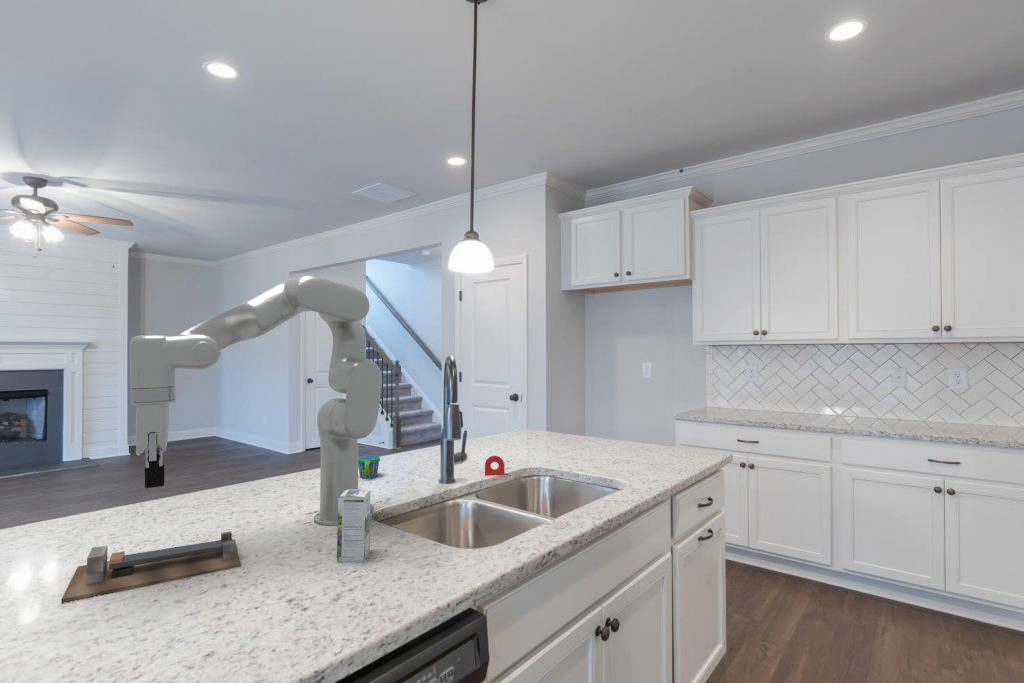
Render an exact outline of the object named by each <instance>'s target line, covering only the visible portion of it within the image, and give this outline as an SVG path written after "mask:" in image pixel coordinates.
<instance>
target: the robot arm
mask: <svg viewBox="0 0 1024 683" xmlns="http://www.w3.org/2000/svg"><path fill="white" fill-rule="evenodd" d="M369 311H370V301H369V299H368V296H367V295H366V294H365V293H364V292H363V291H362V290H360V289H358V288H356V287H353V286H349V285H346V284H343V283H339V282H335V281H333V280H330V279H327V278H322V277H319V276H315V275H301V276H298V277H297V276H296V277H291V278H288V279H285V280H283V281H281V282H279V283H278V284H276V285H274V286H272V287H270V288H268V289H267V290H264V291H263V292H261V293H259V294H257V295H255V296H253V297H251V298H249V299H247V300H245V301H243V302H241V303H239V304H237V305H234V306H233V307H231V308H229V309H227V310H225V311H223V312H222V313H221V312H220V313H219V314H217V315H214V316H213V317H210V318H209V319H206V320H204V321H202V322H200V323H198V324H196V325H193V326H191V327H190V328H189V329H186V330H184V331H182V332H180V333H179V334H177V335H176V336H170V335H167V334H164V335H163V334H162V335H161V334H145V335H144V334H143V335H135V336H133V337H132V338H131V339H130V341H129V386H130V387H129V388H130V391H129V392H130V393H129V394H130V406H136V410H135V411H136V413H135V414H136V415H135V455H137V456H141V454H143V453H145V455H144V456H145V466H144V488H145V489H152V488H153V489H154V488H157V487H158V488H159V487H163V486H165V465H164V453H165V452H166V451H167V446H168V439H169V429H170V428H169V427H170V426H169V425H170V424H169V423H170V420H169V419H170V418H169V415H170V412H169V410H170V409H169V408H170V406H169V405H170V404H173V403H176V399H177V398H176V369H186V370H187V369H188V370H189V369H190V370H204V369H207V368H210V367H212V366H213V365H215V364H216V363H217V362H218V361H219V360H220V358H221V350H223V349H225V348H227V347H229V346H232V345H234V344H237V343H240V342H244V341H248V340H251V339H252V340H253V339H256V338H258V337H260V336H262V335H265V334H268V333H269V332H270V331H273V330H274V329H276V328H277V327H279V326H280V325H282V324H283V323H285V322H287V321H289V320H291V319H293V318H294V317H296V316H298V315H300V314H301V313H305V312H316V313H318V315H319V316H320V318H321V319H322V320H323V321H324V322H325V323H326V324H327V326H328V327H329V329H330V332H331V335H332V348H331V356H330V362H329V363H330V364H329V369H328V377H327V379H328V385H329V386H330V387H329V388H331V389H332V390H333V391H334V392H337V393H339V394H345V395H346V396H345V398H337V397H336V398H332V399H331V398H330V399H329V400H327V401H325V402H324V403H323V404H322V405H321V407H320V408H319V409H318V412H317V416H316V421H317V422H316V423H317V431H318V435H319V446H320V447H319V448H320V454H319V455H320V458H319V459H320V460H319V461H320V465H319V466H320V468H319V470H320V472H319V474H320V476H319V481H320V482H319V485H320V487H319V492H320V493H319V497H320V498H319V503H320V504H319V512H317V513H316V514H315V515H314V516H313V523H314V524H316V525H317V526H325V527H338V498H339V497H340V496H341V495H342V493H343V492H344V491H345V490H350V489H359V466H358V459H359V457H360V456H359V444H358V440H360V439H365V438H367V437H368V436H369V435H370V434H372V432H373V431H374V429H375V427H376V424H377V422H378V418H379V417H378V416H379V408H380V403H381V402H380V401H381V394H382V387H383V376H382V375H383V374H382V371H381V369H380V366H378V364H377V363H376V362H375V361H373V360H372V359H369V358H366V348H367V335H366V331H365V328H364V326H363V324H362V322H361V321H362V320H363V319H364V318H365V317H367V315H368V314H369ZM374 512H375V507H374V505H372V504H371V503H370V515H371V514H372V515H373V514H374Z"/></svg>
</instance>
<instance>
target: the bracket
mask: <svg viewBox="0 0 1024 683" xmlns="http://www.w3.org/2000/svg"><path fill="white" fill-rule="evenodd" d="M494 463H496V464H498V467H497V468H495V469H493V468H492V467H491V466H492V464H494ZM484 476H489V477H490V476H507V474H506V473H505V462H504V460H503V458H502V457H500V456H498V455H491V456H489V457H488V458H487V459H486V460H485V463H484Z"/></svg>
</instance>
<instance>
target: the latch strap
mask: <svg viewBox="0 0 1024 683" xmlns="http://www.w3.org/2000/svg"><path fill="white" fill-rule="evenodd" d="M232 541H233V537H232V538H231V539H230V537H225V538H224V539H223V540H221V539H218V540H213V541H206V542H200V543H195V544H187V545H182V546H175V547H168V548H167V547H166V548H162V549H161V548H160V549H157V550H156V549H155V550H149V551H144V552H137V553H131V554H125V551H124V550H123V551H118V552H117V551H116V552H112V553H111V555H110V558H109V559H108V561H109V570H110V569H116V568H122V567H128V566H134V565H140V564H146V563H152V562H158V561H164V560H170V559H176V558H182V557H188V556H194V555H200V554H206V553H212V552H218V551H223V543H226V542H232Z"/></svg>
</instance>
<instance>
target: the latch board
mask: <svg viewBox="0 0 1024 683" xmlns="http://www.w3.org/2000/svg"><path fill="white" fill-rule="evenodd" d="M232 533H233V532H232V531H224V532H221V533H220V540H223V539H224V538H225V537H230V539H231V538H232V540H233V541H232V542H226V543H223V551H218V552H212V553H206V554H200V555H194V556H188V557H182V558H176V559H170V560H164V561H158V562H152V563H146V564H140V565H134V566H128V567H122V568H116V569H110V570H109V560H108V546H109V545H101V546H96V547H91V549H90V551H89V554H88V556H87V558H86V564H84V565H78V566H77V567H76V569H75V571H74V574H73V575H72V578H71V579H70V581H69V582H68V586H67V588H66V589H65V592H64V593H63V595H62V597H61V603H62V604H65V603H64V602H67V603H71V602H70V601H72V602H76V601H75V600H77V601H80V599H82V600H86V599H91V598H95V597H94V596H96V597H99V596H98V595H101V596H105V595H104V594H106V595H110V594H109V593H111V594H115V593H118V592H119V593H121V592H124V591H129V590H134V589H139V588H144V587H149V586H154V585H157V584H164V583H169V582H173V581H177V580H182V579H188V578H192V577H196V576H201V575H205V574H207V575H208V574H211V573H216V572H221V571H225V570H230V569H235V568H240V567H242V563H241V558H240V555H239V550H238V546H237V545H238V544H237V540H236V539H234V538H233V537H232V535H233V534H232ZM114 592H115V593H114ZM90 597H91V598H90ZM85 598H86V599H85ZM61 603H60V604H61Z"/></svg>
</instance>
